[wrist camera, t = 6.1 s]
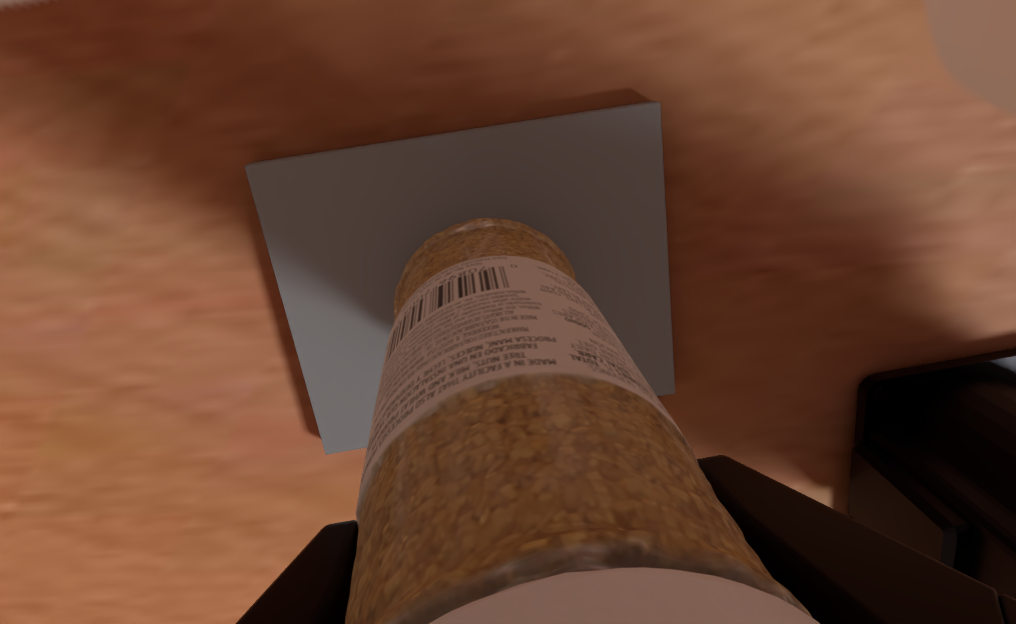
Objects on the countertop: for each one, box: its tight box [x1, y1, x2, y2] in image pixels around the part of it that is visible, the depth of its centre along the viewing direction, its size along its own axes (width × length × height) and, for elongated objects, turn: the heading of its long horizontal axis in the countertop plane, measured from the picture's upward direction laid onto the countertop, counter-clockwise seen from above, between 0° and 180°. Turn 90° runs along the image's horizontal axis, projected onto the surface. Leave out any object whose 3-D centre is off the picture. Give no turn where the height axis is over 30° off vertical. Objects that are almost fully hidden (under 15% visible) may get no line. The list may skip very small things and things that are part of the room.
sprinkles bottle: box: [345, 218, 820, 624], centre depth 10 cm, size 5×5×13 cm
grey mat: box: [244, 101, 675, 454], centre depth 17 cm, size 10×8×1 cm
